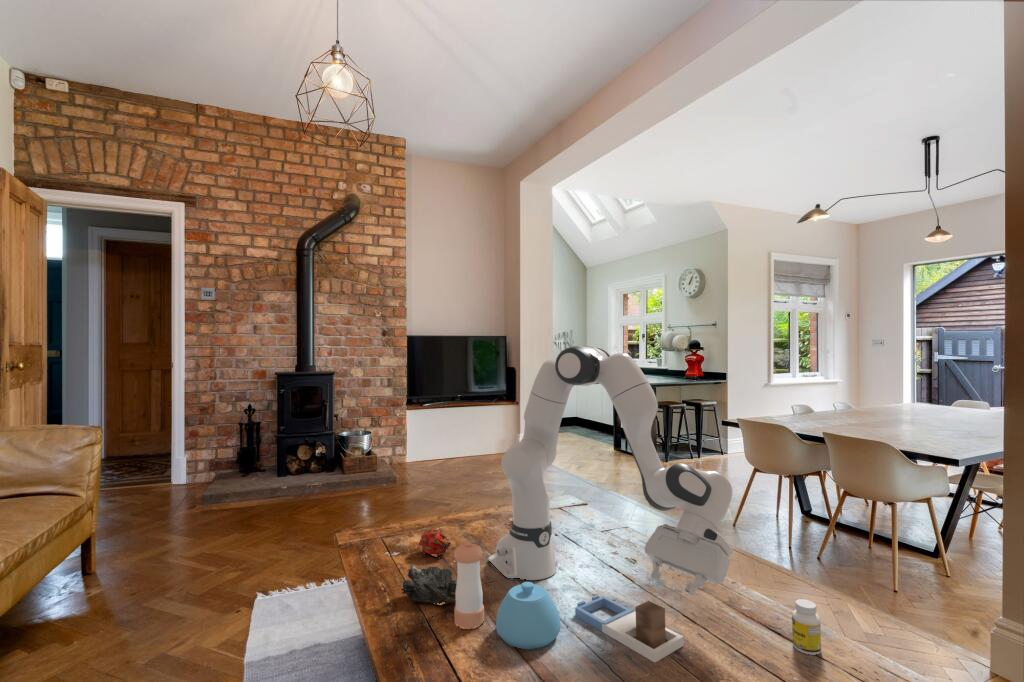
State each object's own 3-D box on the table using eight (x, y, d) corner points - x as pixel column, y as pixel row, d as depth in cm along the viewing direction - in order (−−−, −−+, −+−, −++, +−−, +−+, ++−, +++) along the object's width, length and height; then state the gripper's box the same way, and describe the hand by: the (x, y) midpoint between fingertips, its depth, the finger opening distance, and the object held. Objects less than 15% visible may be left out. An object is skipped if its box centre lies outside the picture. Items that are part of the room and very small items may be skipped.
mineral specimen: (396, 593, 130) (412, 551, 135) (398, 597, 141) (413, 558, 146) (454, 613, 129) (467, 571, 135) (451, 615, 141) (464, 576, 146)
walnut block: (636, 642, 116) (635, 606, 116) (649, 635, 118) (648, 600, 119) (652, 652, 112) (651, 615, 112) (665, 644, 115) (664, 608, 115)
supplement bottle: (787, 642, 115) (786, 598, 115) (810, 640, 115) (809, 596, 116) (803, 656, 110) (801, 610, 110) (827, 655, 110) (826, 608, 110)
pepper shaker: (456, 613, 130) (455, 537, 130) (485, 613, 129) (484, 536, 130) (452, 629, 122) (451, 548, 122) (483, 629, 122) (481, 548, 122)
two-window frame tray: (573, 614, 128) (573, 604, 128) (601, 602, 134) (601, 592, 134) (654, 662, 108) (654, 651, 108) (683, 645, 114) (683, 634, 114)
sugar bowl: (511, 660, 110) (510, 605, 110) (486, 625, 124) (485, 577, 124) (572, 643, 116) (571, 591, 116) (542, 612, 130) (541, 565, 130)
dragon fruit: (424, 552, 172) (446, 568, 164) (407, 544, 167) (430, 559, 159) (437, 529, 175) (460, 543, 167) (422, 520, 170) (445, 534, 162)
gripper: (654, 515, 133) (629, 564, 127) (728, 538, 116) (704, 595, 111) (665, 529, 135) (641, 577, 130) (739, 553, 119) (716, 609, 113)
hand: (671, 585), depth 120 cm, fingers open, 8 cm apart
